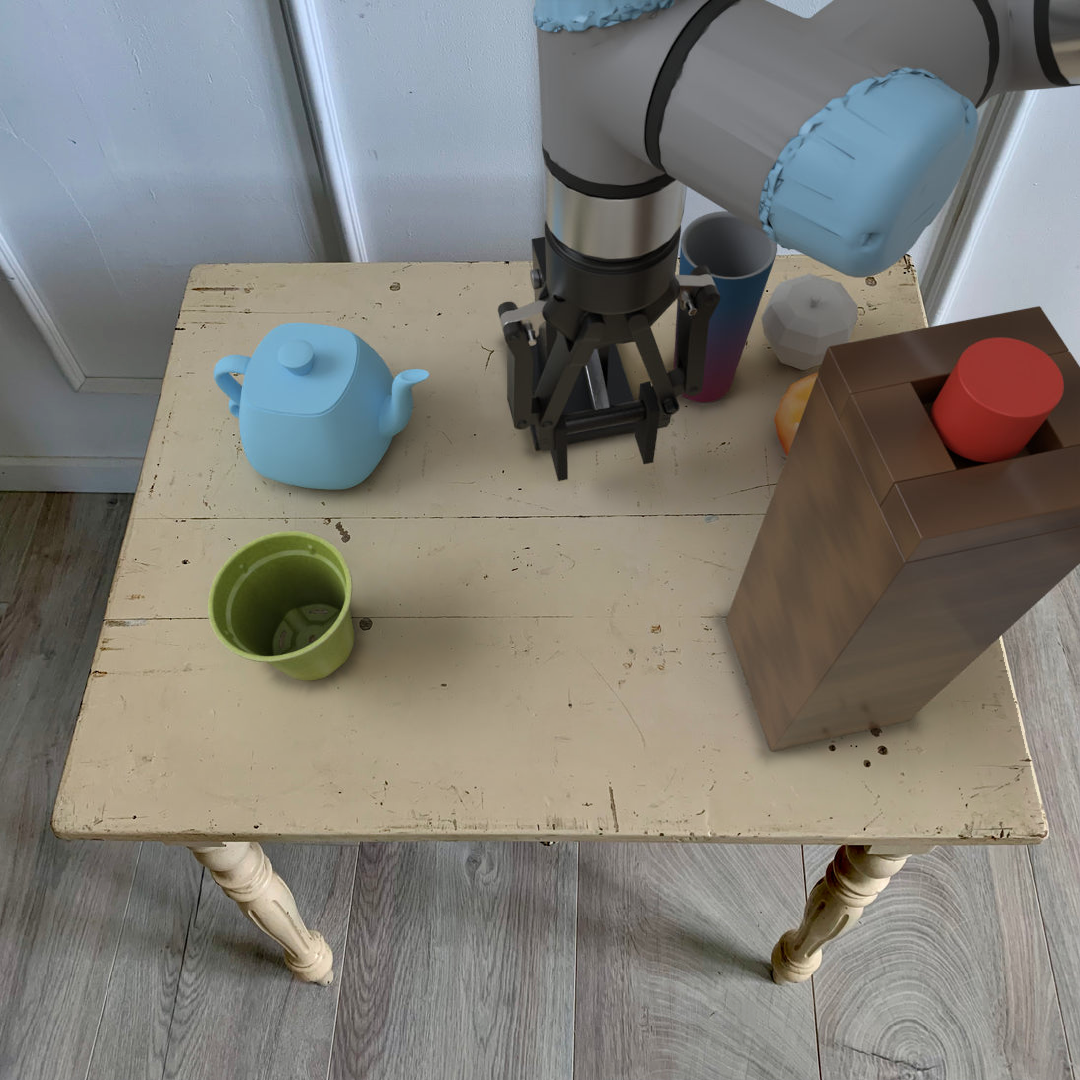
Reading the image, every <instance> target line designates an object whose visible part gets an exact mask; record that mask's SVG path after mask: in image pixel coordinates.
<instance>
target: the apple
mask: <svg viewBox="0 0 1080 1080" xmlns="http://www.w3.org/2000/svg"><path fill="white" fill-rule="evenodd" d="M760 320H761V325H762V330H763V335H764V337H765V339H766V340H767V343H768V344H769V346H770V347H771V349H772V350H773V352H774V353H775V355H776V358H777V359H778V360H779V362H780V363H781V364H783V365H786V366H790V367H792V368H794V369H799V370H801V371H805V370H809V369H811V368H814V367H817V366H821V364H822V362H823V359H824V356H825V354H826V351H827V348H828V347H829V346H833V345H839V344H844V343H849V342H850V339H851V337H852V335H853V332H854V329H855V326H856V323H857V320H858V304H857V303H856V301H855V300H854V298H853V297H852V296H851V295H850V293H849V292H848V290H847V289H846V287H844V285H843V284H842V283H841V282H840V281H836V280H832V279H829V278H826V277H822V276H819V275H815V274H812V273H806V274H803V275H800V276H797V277H793V278H790V279H787V280H784V281H781V282H779V283H778V285H777V286H776V288H775V289H774V290H773V291H772V293H771V295H770V297H769V300H768V302H767V303H766V306H765V308H764V311H763V313H762V315H761V318H760Z"/></svg>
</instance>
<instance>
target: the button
mask: <svg viewBox="0 0 1080 1080" xmlns="http://www.w3.org/2000/svg"><path fill="white" fill-rule="evenodd" d="M1063 390H1064V382H1063V377H1062V374H1061V372H1060V370H1059V368H1058V366H1057V365H1056V364H1055V362H1054V361H1053V360H1052V359H1051V358H1050V357H1049V356H1048V355H1047V354H1046V353H1044V352H1043V351H1041V350H1040V349H1038V348H1037V347H1035V346H1033V345H1031V344H1029V343H1026V342H1023V341H1020V340H1016V339H1011V338H989V339H985V340H981V341H979V342H976V343H974V344H973V345H971V346H970V347H968V348H967V349H966V350H965V351H964V352H963V354H962V355H961V357H960V358H959V360H958V362H957V364H956V365H955V367H954V369H953V371H952V372H951V374H950V376H949V377H948V379H947V381H946V383H945V384H944V386H943V388H942V390H941V391H940V393H939V395H938V397H937V398H936V400H935V402H934V404H933V406H932V409H931V422H932V424H933V426H934V427H935V429H936V431H937V433H938V435H939V437H940V439H941V441H942V442H943V444H944V445H945V446H946V447H947V448H949V449H950V450H951V451H953V452H954V453H956V454H958V455H960V456H962V457H964V458H967V459H970V460H973V461H978V462H987V463H989V462H1000V461H1004V460H1007V459H1009V458H1012V457H1014V456H1015V455H1017V454H1018V453H1019V452H1020V451H1021V450H1022V449H1023V448H1024V447H1025V445H1026V444H1027V443H1028V442H1029V440H1030V439H1031V438H1032V436H1033V435H1034V434H1035V433H1036V431H1037V430H1038V429H1039V427H1040V426H1041V425H1042V424H1043V422H1044V421H1045V420H1046V418H1047V417H1048V416H1049V414H1050V413H1051V412H1052V411H1053V409H1054V408H1055V407H1056V405H1057V404H1058V403H1059V401H1060V400H1061V398H1062V395H1063Z"/></svg>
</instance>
